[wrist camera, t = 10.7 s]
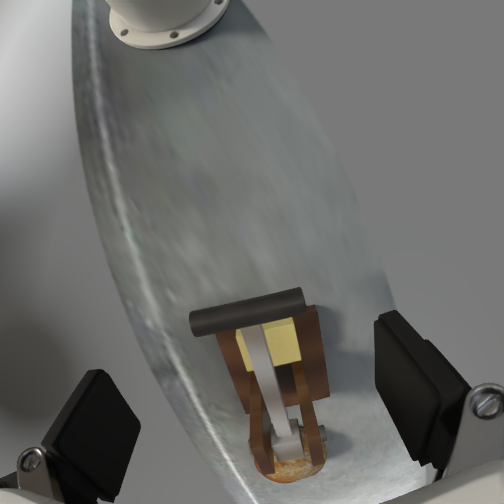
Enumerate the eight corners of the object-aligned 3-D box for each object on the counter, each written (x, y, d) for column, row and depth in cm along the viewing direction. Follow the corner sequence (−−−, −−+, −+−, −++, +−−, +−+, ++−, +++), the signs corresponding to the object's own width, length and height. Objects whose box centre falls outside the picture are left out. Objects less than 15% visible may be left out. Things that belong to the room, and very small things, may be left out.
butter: (237, 318, 27) (235, 336, 24) (289, 306, 26) (294, 323, 23) (247, 352, 28) (247, 371, 25) (296, 341, 27) (301, 360, 24)
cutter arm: (192, 302, 16) (185, 325, 14) (297, 278, 16) (305, 298, 13) (253, 444, 20) (254, 466, 18) (323, 430, 20) (329, 452, 18)
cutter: (215, 326, 28) (196, 420, 16) (314, 304, 28) (353, 389, 15) (246, 407, 31) (245, 495, 19) (327, 390, 31) (355, 474, 18)
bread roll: (325, 424, 37) (351, 445, 29) (293, 474, 35) (313, 501, 27) (269, 407, 35) (287, 431, 28) (237, 461, 33) (248, 492, 26)
